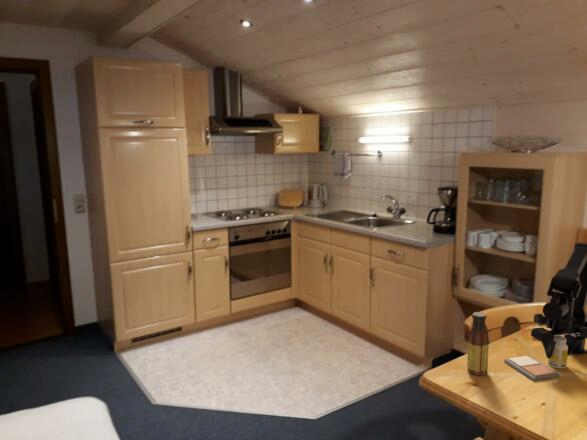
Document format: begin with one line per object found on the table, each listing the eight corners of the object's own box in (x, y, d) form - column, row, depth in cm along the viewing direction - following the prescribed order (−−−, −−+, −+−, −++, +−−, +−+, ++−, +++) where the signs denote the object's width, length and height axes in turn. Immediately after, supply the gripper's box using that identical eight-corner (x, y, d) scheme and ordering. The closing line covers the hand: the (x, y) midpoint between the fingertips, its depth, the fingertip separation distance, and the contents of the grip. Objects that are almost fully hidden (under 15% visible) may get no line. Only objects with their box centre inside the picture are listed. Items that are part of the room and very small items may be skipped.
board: (528, 358, 162) (529, 354, 162) (559, 376, 149) (559, 372, 149) (504, 361, 159) (504, 358, 159) (532, 380, 147) (533, 376, 147)
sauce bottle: (484, 367, 155) (488, 310, 152) (489, 377, 149) (494, 318, 146) (463, 366, 156) (467, 310, 152) (468, 376, 150) (472, 317, 146)
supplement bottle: (564, 363, 159) (567, 335, 157) (567, 370, 154) (570, 342, 152) (546, 360, 160) (549, 333, 159) (549, 367, 155) (552, 339, 154)
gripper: (565, 301, 164) (561, 343, 167) (520, 306, 159) (517, 349, 162) (593, 313, 153) (588, 357, 156) (546, 318, 149) (541, 364, 151)
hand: (557, 356), depth 157 cm, fingers open, 7 cm apart
